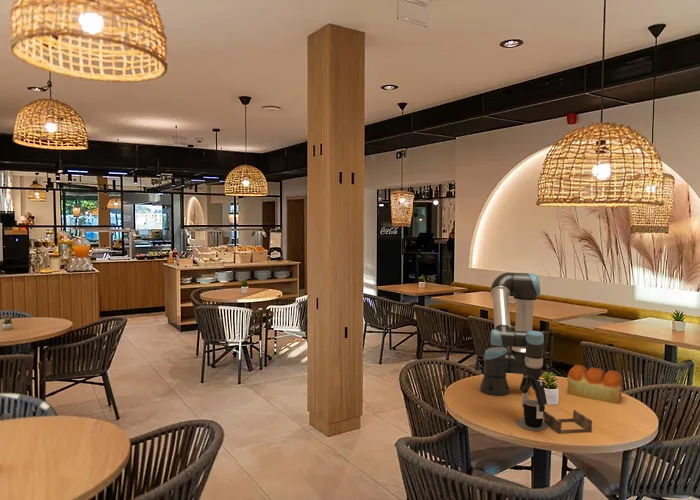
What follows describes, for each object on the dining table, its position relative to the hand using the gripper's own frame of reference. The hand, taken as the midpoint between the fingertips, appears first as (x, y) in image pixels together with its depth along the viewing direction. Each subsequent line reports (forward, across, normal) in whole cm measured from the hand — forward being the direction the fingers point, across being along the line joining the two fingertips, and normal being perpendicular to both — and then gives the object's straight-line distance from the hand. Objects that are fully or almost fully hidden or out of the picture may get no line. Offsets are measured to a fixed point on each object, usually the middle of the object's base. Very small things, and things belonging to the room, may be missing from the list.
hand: (531, 412), depth 234 cm
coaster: (+6, 0, 0) cm, 6 cm away
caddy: (+6, +4, +15) cm, 17 cm away
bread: (+6, -33, +53) cm, 63 cm away
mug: (+5, 0, 0) cm, 5 cm away
